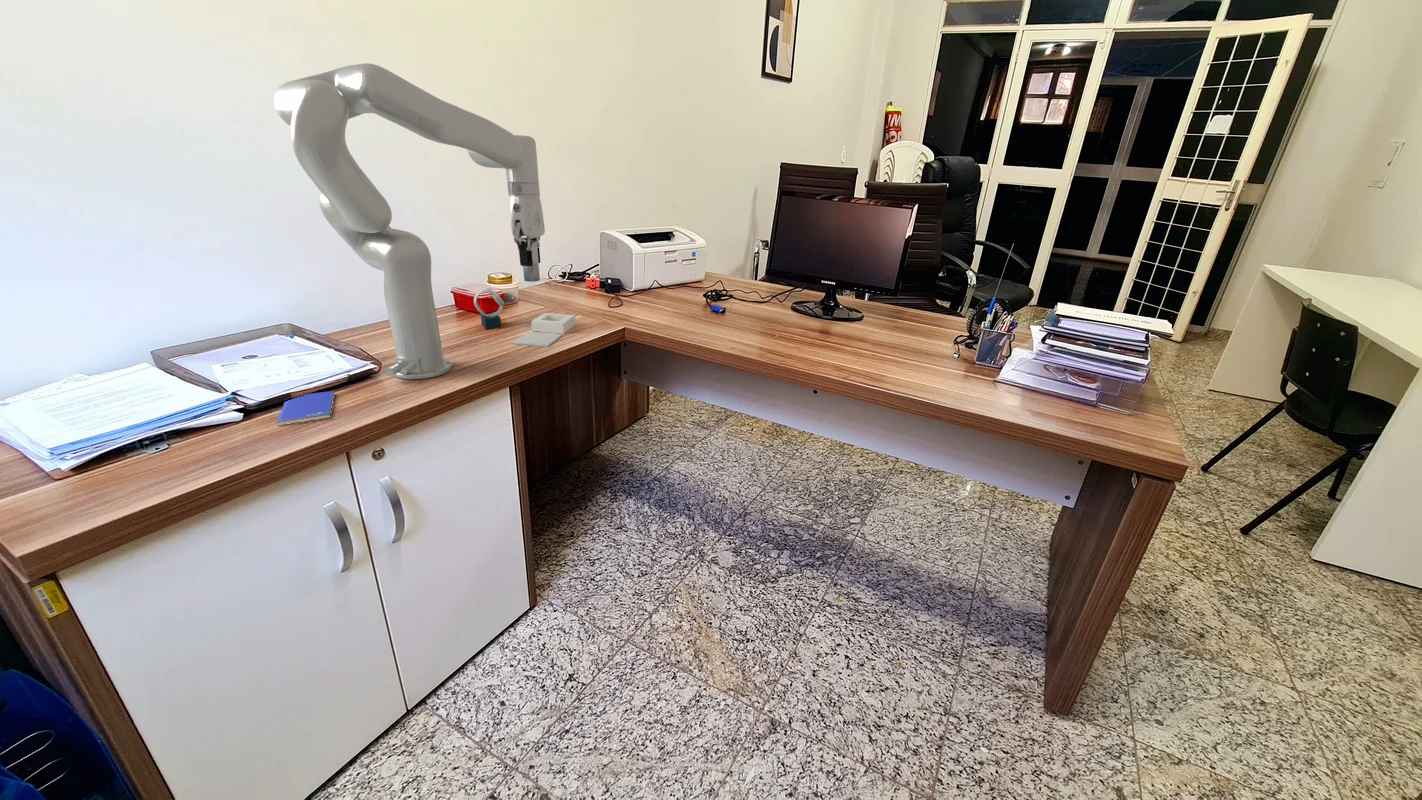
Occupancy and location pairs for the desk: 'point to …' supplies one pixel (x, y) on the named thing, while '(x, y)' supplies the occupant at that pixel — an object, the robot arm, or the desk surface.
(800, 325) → the desk surface
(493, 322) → the grey ring on block
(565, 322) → the grey square socket block
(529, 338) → the mat
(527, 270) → the peg
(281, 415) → the blue book
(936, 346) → the desk surface
